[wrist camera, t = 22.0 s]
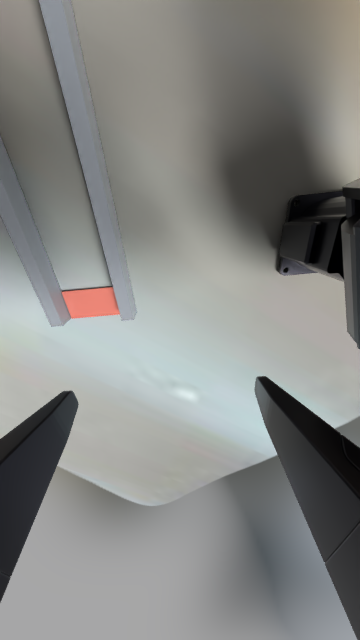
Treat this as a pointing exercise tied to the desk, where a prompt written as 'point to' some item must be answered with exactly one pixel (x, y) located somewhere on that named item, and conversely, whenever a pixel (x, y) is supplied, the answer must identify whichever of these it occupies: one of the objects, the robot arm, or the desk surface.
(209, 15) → the desk surface
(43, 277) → the channel
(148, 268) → the desk surface
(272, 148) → the desk surface
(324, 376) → the desk surface
